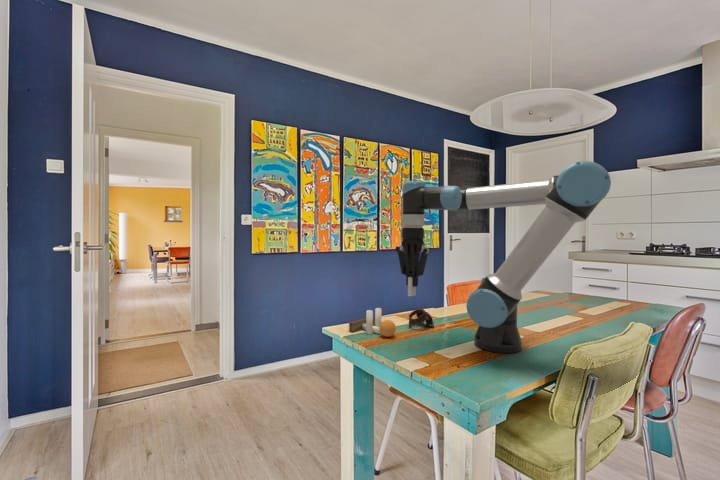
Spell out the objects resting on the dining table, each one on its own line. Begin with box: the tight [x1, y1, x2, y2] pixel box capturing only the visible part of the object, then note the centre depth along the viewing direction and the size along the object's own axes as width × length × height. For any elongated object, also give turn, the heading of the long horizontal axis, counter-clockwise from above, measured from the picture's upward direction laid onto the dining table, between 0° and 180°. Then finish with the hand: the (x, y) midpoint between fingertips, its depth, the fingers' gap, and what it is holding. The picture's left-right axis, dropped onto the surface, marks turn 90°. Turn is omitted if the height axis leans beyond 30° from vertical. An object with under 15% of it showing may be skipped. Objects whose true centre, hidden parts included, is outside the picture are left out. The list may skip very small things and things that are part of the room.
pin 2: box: [374, 307, 383, 327], centre depth 139 cm, size 2×2×8 cm
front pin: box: [362, 323, 382, 335], centre depth 137 cm, size 2×2×8 cm
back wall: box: [348, 316, 375, 333], centre depth 141 cm, size 2×13×4 cm, turn 137°
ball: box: [379, 319, 397, 338], centre depth 132 cm, size 6×6×6 cm
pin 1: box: [365, 309, 374, 335], centre depth 135 cm, size 2×2×8 cm
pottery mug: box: [408, 308, 435, 329], centre depth 146 cm, size 12×9×8 cm
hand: (411, 295), depth 125 cm, fingers closed
